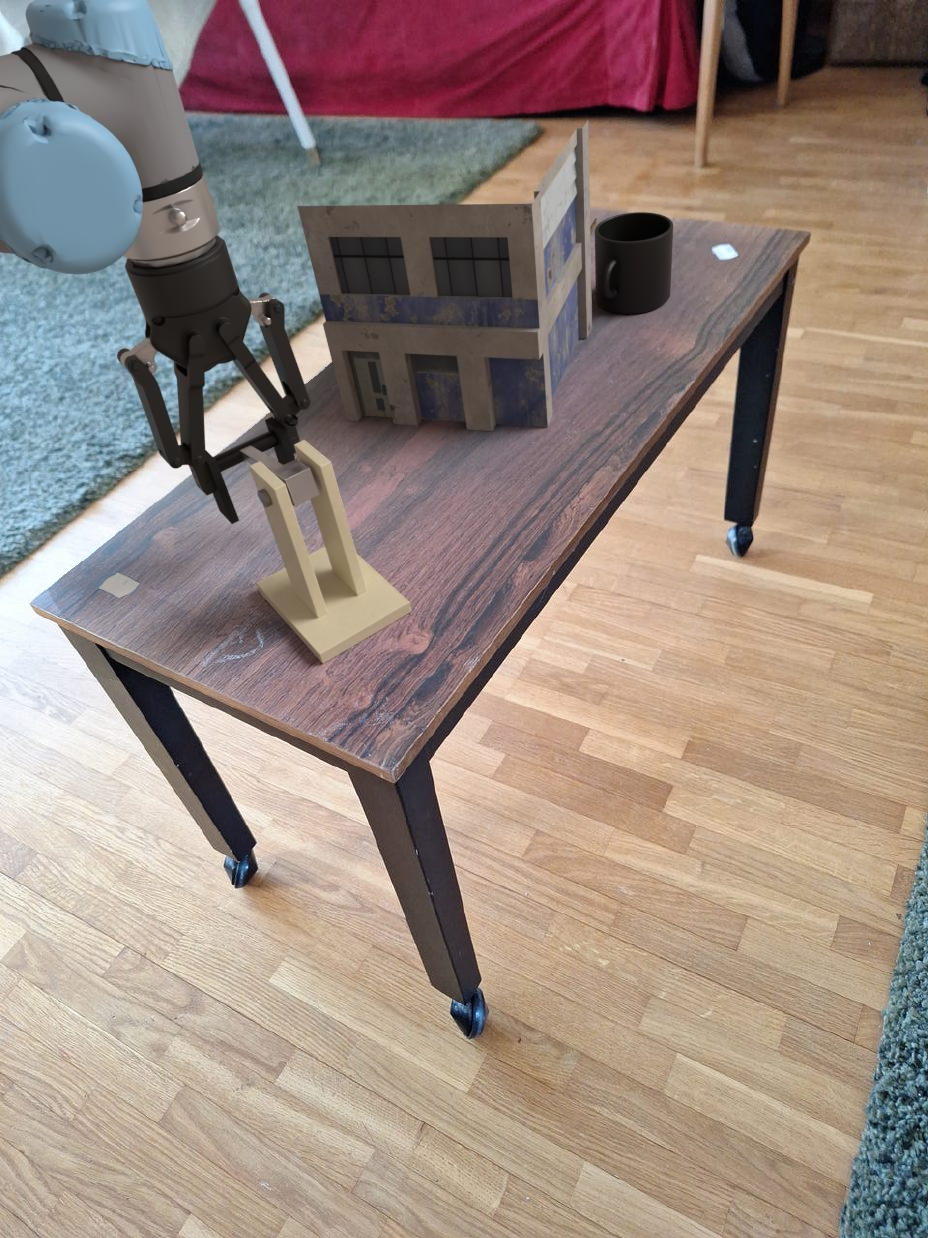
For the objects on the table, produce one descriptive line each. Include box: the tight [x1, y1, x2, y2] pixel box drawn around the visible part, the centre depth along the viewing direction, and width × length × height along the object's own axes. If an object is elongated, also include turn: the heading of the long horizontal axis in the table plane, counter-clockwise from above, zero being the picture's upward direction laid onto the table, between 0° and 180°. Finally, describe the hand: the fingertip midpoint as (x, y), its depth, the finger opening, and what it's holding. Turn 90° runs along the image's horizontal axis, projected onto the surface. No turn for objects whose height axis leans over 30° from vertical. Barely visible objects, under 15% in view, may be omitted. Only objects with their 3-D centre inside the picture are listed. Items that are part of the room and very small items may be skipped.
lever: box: [212, 430, 320, 507], centre depth 71 cm, size 13×6×2 cm, turn 36°
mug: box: [594, 211, 674, 315], centre depth 107 cm, size 9×12×9 cm
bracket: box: [248, 439, 412, 665], centre depth 71 cm, size 12×9×15 cm
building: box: [296, 120, 593, 432], centre depth 94 cm, size 23×24×23 cm
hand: (262, 499), depth 79 cm, fingers closed on lever, 6 cm apart
